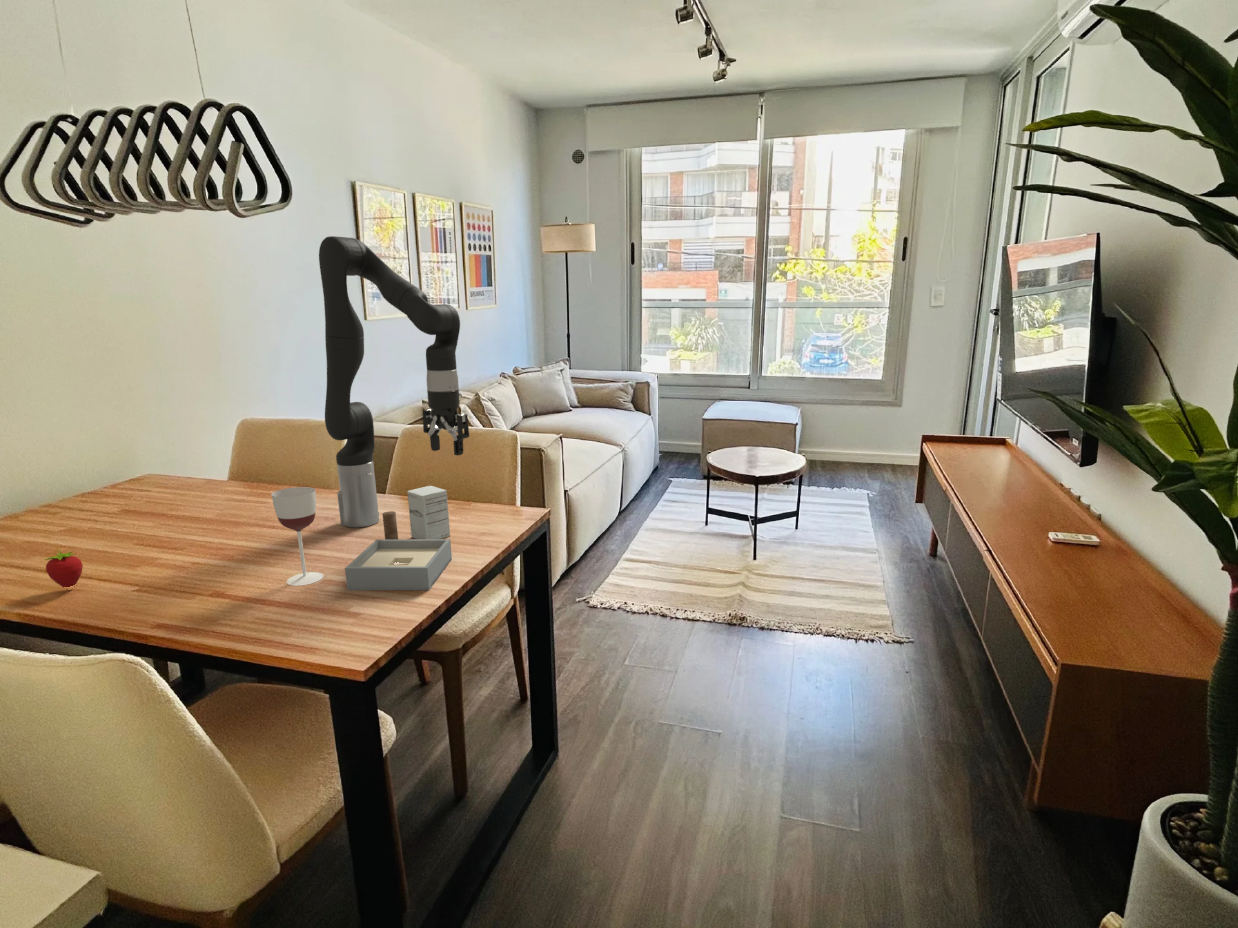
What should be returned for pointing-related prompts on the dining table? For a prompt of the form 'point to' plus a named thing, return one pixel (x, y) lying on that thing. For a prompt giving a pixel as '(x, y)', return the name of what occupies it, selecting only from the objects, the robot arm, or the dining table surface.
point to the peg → (390, 525)
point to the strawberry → (64, 569)
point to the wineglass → (297, 522)
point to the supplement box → (428, 513)
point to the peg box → (382, 574)
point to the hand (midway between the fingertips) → (447, 452)
